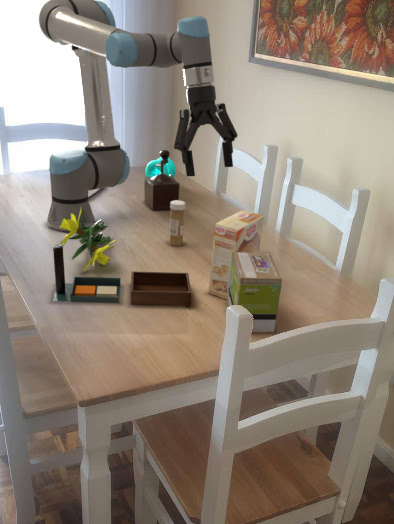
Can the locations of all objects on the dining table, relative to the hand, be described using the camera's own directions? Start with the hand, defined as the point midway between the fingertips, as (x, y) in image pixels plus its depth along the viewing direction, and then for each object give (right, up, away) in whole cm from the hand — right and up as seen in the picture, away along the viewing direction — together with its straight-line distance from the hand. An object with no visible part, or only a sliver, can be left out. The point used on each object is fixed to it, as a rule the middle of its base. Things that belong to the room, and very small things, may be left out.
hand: (210, 171), depth 156 cm
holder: (-13, -34, -6) cm, 37 cm away
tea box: (+9, -41, -13) cm, 44 cm away
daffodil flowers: (-35, -22, +12) cm, 43 cm away
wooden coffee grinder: (-18, +6, +59) cm, 62 cm away
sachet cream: (-27, -34, -7) cm, 44 cm away
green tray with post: (-32, -34, -8) cm, 47 cm away
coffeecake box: (+6, -32, +2) cm, 32 cm away
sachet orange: (-32, -34, -8) cm, 48 cm away
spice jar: (-10, -15, +26) cm, 32 cm away
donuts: (-19, +20, +81) cm, 86 cm away
